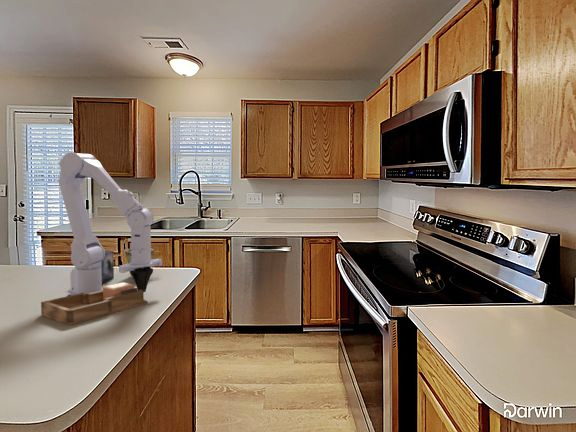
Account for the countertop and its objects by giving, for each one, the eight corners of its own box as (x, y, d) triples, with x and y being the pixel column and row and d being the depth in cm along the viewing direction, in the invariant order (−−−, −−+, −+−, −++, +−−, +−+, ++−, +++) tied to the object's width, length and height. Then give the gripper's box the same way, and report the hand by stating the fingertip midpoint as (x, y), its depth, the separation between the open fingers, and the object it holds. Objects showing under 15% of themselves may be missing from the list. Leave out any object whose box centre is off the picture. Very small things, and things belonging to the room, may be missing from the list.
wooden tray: (41, 315, 119) (40, 299, 118) (119, 295, 138) (119, 282, 138) (69, 325, 111) (68, 308, 111) (147, 303, 131) (147, 288, 131)
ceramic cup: (128, 280, 158) (127, 253, 157) (123, 275, 167) (123, 248, 166) (165, 277, 165) (164, 250, 164) (158, 271, 173) (158, 246, 172)
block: (103, 302, 129) (102, 286, 129) (123, 296, 135) (123, 281, 134) (113, 305, 126) (113, 288, 126) (134, 299, 132) (134, 284, 132)
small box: (97, 285, 151) (96, 255, 150) (80, 284, 152) (79, 254, 151) (115, 278, 161) (114, 250, 160) (99, 277, 162) (98, 249, 161)
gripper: (129, 253, 128) (130, 299, 129) (168, 246, 140) (168, 289, 141) (114, 250, 132) (115, 295, 133) (153, 244, 144) (154, 285, 145)
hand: (141, 291), depth 137 cm, fingers closed
